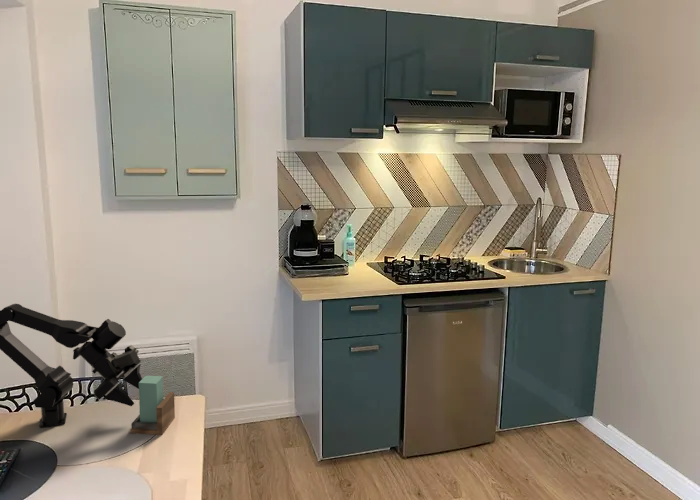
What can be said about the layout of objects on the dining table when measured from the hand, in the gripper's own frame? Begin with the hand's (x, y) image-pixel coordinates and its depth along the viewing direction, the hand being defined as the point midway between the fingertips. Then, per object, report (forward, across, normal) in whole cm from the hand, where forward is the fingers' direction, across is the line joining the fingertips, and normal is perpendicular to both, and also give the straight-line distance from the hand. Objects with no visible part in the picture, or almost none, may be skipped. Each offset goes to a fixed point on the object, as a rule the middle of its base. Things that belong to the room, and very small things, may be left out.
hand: (139, 397), depth 155 cm
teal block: (+8, 0, +3) cm, 8 cm away
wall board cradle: (+8, 0, +3) cm, 9 cm away
